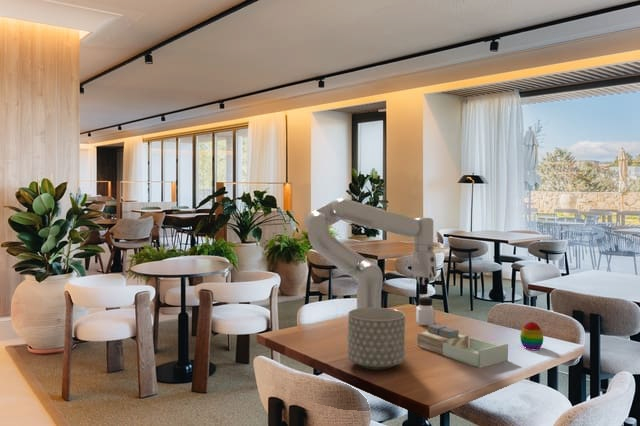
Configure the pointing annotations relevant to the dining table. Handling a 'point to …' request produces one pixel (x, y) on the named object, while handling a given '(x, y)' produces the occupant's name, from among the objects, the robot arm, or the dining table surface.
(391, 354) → the planter
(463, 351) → the tray
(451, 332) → the tile front
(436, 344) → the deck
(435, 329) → the tile rear
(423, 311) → the medicine bottle
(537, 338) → the decorative egg
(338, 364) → the dining table surface
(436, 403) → the dining table surface
